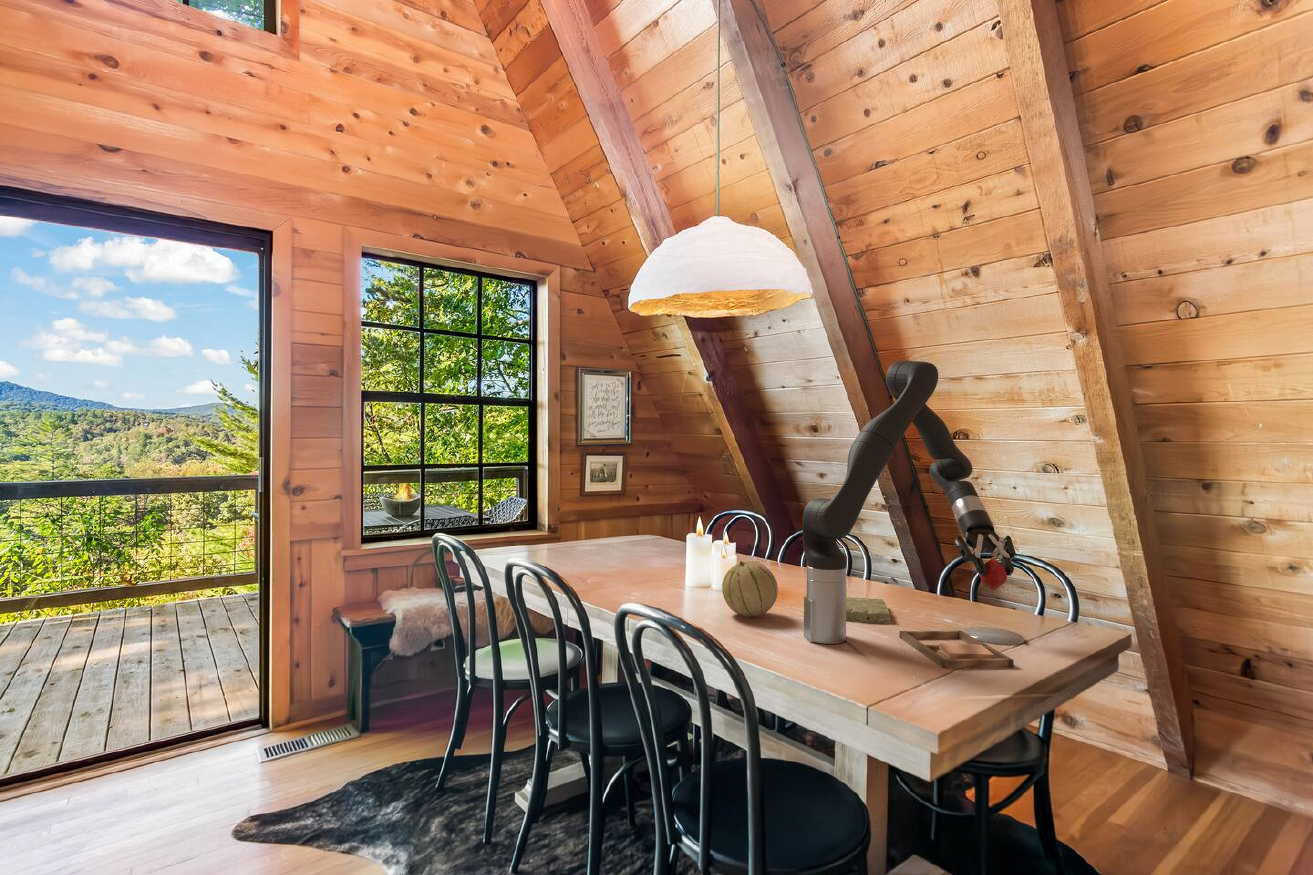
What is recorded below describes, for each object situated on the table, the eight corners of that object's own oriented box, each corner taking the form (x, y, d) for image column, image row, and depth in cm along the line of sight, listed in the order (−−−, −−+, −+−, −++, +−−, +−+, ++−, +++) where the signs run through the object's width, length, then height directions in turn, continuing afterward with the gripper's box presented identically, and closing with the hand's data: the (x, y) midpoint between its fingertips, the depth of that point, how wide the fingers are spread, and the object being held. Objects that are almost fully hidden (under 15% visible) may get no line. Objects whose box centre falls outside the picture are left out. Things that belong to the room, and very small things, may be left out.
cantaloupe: (788, 616, 187) (789, 560, 187) (754, 626, 177) (755, 567, 177) (744, 606, 197) (745, 553, 197) (710, 615, 187) (711, 559, 187)
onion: (994, 593, 164) (994, 559, 164) (974, 588, 169) (974, 555, 169) (1012, 591, 166) (1012, 558, 166) (991, 586, 171) (992, 554, 171)
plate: (981, 646, 161) (981, 642, 161) (953, 631, 174) (953, 627, 174) (1035, 646, 161) (1035, 641, 161) (1004, 630, 174) (1004, 626, 174)
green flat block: (811, 605, 202) (811, 592, 202) (883, 609, 198) (883, 596, 198) (812, 621, 184) (812, 608, 184) (892, 626, 180) (892, 612, 180)
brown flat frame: (943, 670, 144) (943, 660, 144) (899, 639, 166) (899, 631, 166) (1013, 669, 145) (1013, 659, 145) (960, 638, 167) (960, 630, 167)
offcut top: (949, 658, 147) (949, 653, 147) (939, 648, 154) (939, 643, 154) (994, 660, 146) (994, 654, 146) (981, 650, 153) (981, 644, 153)
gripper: (949, 508, 175) (974, 565, 163) (1005, 508, 175) (1033, 564, 164) (939, 526, 180) (962, 582, 168) (993, 526, 181) (1020, 582, 169)
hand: (997, 573), depth 166 cm, fingers closed on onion, 6 cm apart
